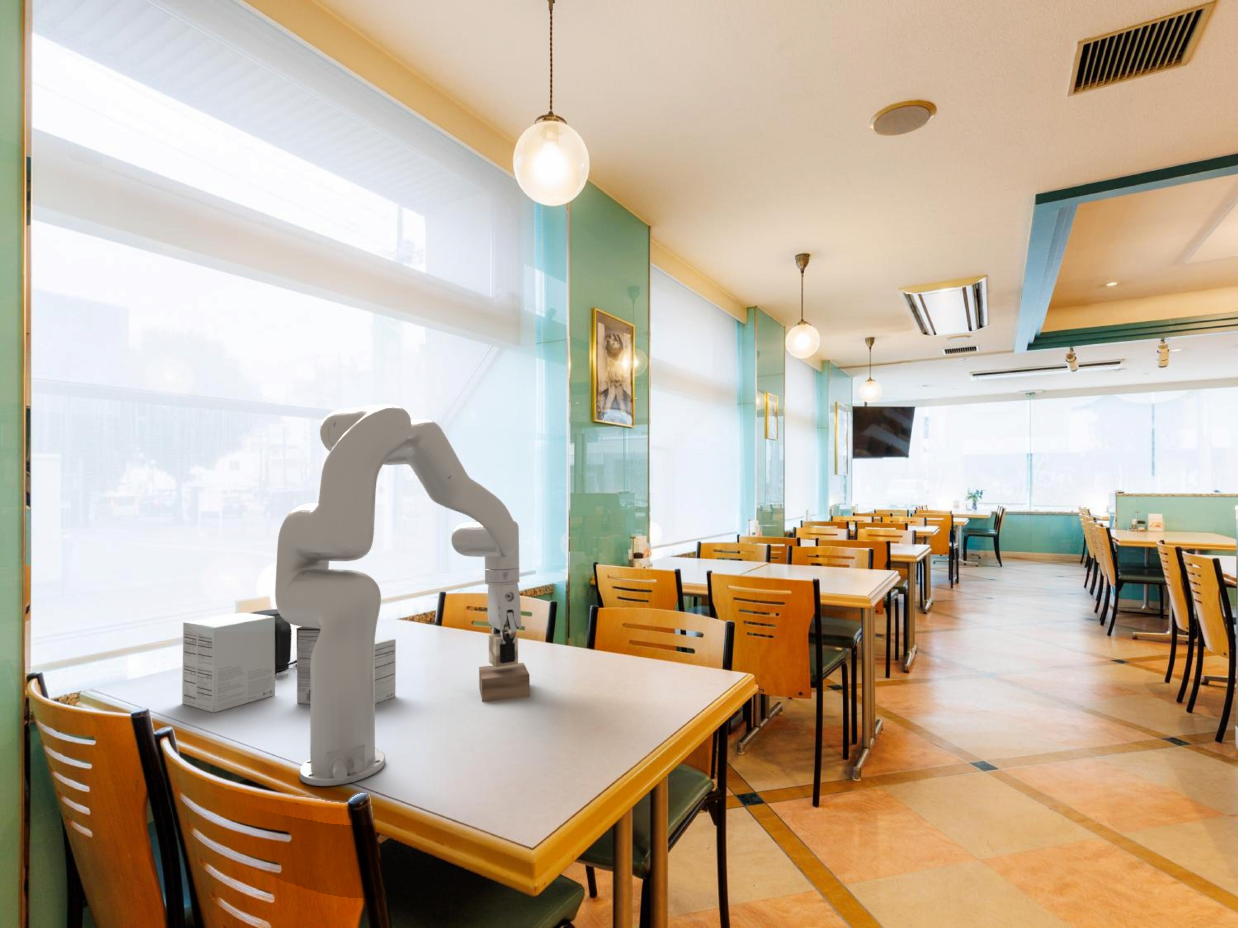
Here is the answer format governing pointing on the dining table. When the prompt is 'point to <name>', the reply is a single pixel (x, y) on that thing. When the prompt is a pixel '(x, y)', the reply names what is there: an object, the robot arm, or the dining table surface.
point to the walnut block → (504, 682)
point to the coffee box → (305, 661)
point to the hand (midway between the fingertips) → (503, 658)
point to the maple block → (495, 650)
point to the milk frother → (280, 639)
